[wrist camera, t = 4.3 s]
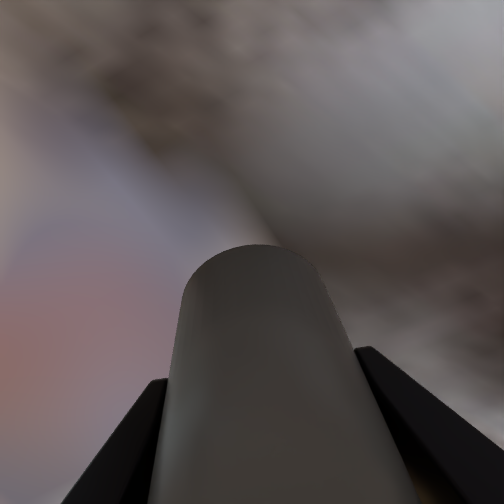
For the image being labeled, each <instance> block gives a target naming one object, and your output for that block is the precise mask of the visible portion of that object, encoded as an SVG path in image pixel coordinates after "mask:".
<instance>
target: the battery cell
mask: <svg viewBox="0 0 504 504" xmlns="http://www.w3.org/2000/svg"><path fill="white" fill-rule="evenodd" d="M147 504H422V502H421V500H420V498H419V496H418V493H417V491H416V489H415V487H414V484H413V482H412V480H411V478H410V475H409V473H408V471H407V469H406V466H405V464H404V462H403V460H402V457H401V455H400V453H399V451H398V449H397V446H396V444H395V442H394V440H393V437H392V435H391V433H390V431H389V428H388V426H387V424H386V422H385V419H384V417H383V415H382V413H381V410H380V408H379V406H378V404H377V401H376V399H375V397H374V395H373V392H372V390H371V388H370V386H369V384H368V381H367V379H366V377H365V375H364V372H363V370H362V368H361V366H360V363H359V361H358V359H357V357H356V354H355V352H354V350H353V348H352V345H351V343H350V341H349V339H348V336H347V334H346V332H345V330H344V327H343V325H342V323H341V321H340V318H339V316H338V314H337V312H336V310H335V307H334V305H333V303H332V301H331V298H330V296H329V294H328V292H327V289H326V287H325V285H324V283H323V281H322V279H321V277H320V275H319V273H318V272H317V271H316V269H315V268H314V267H313V266H312V265H311V264H310V263H309V262H308V261H307V260H305V259H304V258H303V257H301V256H299V255H298V254H296V253H294V252H292V251H289V250H287V249H284V248H280V247H276V246H270V245H245V246H240V247H235V248H232V249H229V250H226V251H223V252H221V253H219V254H217V255H215V256H214V257H212V258H211V259H209V260H207V261H206V262H205V263H204V264H203V265H201V266H200V267H199V268H198V269H197V270H196V272H195V273H194V274H193V275H192V277H191V278H190V280H189V281H188V283H187V285H186V287H185V289H184V293H183V296H182V302H181V308H180V313H179V319H178V325H177V331H176V337H175V343H174V349H173V354H172V361H171V367H170V373H169V378H168V384H167V390H166V396H165V402H164V408H163V413H162V419H161V425H160V431H159V437H158V443H157V449H156V455H155V461H154V466H153V472H152V478H151V484H150V490H149V496H148V502H147Z"/></svg>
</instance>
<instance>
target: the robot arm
mask: <svg viewBox="0 0 504 504" xmlns="http://www.w3.org/2000/svg"><path fill="white" fill-rule="evenodd" d="M354 352H355V354H356V357H357V359H358V361H359V363H360V366H361V368H362V370H363V372H364V375H365V377H366V379H367V381H368V384H369V386H370V388H371V390H372V392H373V395H374V397H375V399H376V401H377V404H378V406H379V408H380V410H381V413H382V415H383V417H384V419H385V422H386V424H387V426H388V428H389V431H390V433H391V435H392V437H393V440H394V442H395V444H396V446H397V449H398V451H399V453H400V455H401V457H402V460H403V462H404V464H405V466H406V469H407V471H408V473H409V475H410V478H411V480H412V482H413V484H414V487H415V489H416V491H417V493H418V496H419V498H420V500H421V502H422V504H504V450H502V449H501V448H500V447H499V446H497V445H496V444H495V443H494V442H492V441H491V440H490V439H488V438H487V437H486V436H485V435H483V434H482V433H481V432H480V431H478V430H477V429H476V428H475V427H473V426H472V425H471V424H469V423H468V422H467V421H466V420H464V419H463V418H462V417H461V416H459V415H458V414H457V413H456V412H454V411H453V410H452V409H450V408H449V407H448V406H447V405H445V404H444V403H443V402H442V401H440V400H439V399H438V398H437V397H435V396H434V395H433V394H431V393H430V392H429V391H428V390H426V389H425V388H424V387H423V386H421V385H420V384H419V383H418V382H416V381H415V380H414V379H412V378H411V377H410V376H409V375H407V374H406V373H405V372H404V371H402V370H401V369H400V368H399V367H397V366H396V365H395V364H393V363H392V362H391V361H390V360H388V359H387V358H386V357H385V356H383V355H382V354H381V353H380V352H378V351H377V350H376V349H374V348H373V347H371V346H366V347H360V348H356V349H354ZM167 384H168V378H163V379H156V380H152V381H151V382H150V383H149V384H148V386H147V387H146V388H145V390H144V391H143V393H142V394H141V395H140V396H139V398H138V399H137V400H136V402H135V403H134V405H133V406H132V408H131V409H130V410H129V412H128V413H127V414H126V415H125V417H124V418H123V420H122V421H121V422H120V424H119V425H118V426H117V428H116V429H115V430H114V432H113V433H112V434H111V436H110V437H109V439H108V440H107V441H106V443H105V444H104V445H103V447H102V448H101V449H100V451H99V452H98V453H97V455H96V456H95V458H94V459H93V460H92V462H91V463H90V464H89V466H88V467H87V468H86V470H85V471H84V473H83V474H82V475H81V477H80V478H79V479H78V481H77V482H76V483H75V485H74V486H73V487H72V489H71V490H70V491H69V493H68V494H67V496H66V497H65V498H64V500H63V501H62V502H61V504H147V502H148V496H149V490H150V484H151V478H152V472H153V466H154V461H155V455H156V449H157V443H158V437H159V431H160V425H161V419H162V413H163V408H164V402H165V396H166V390H167Z"/></svg>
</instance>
